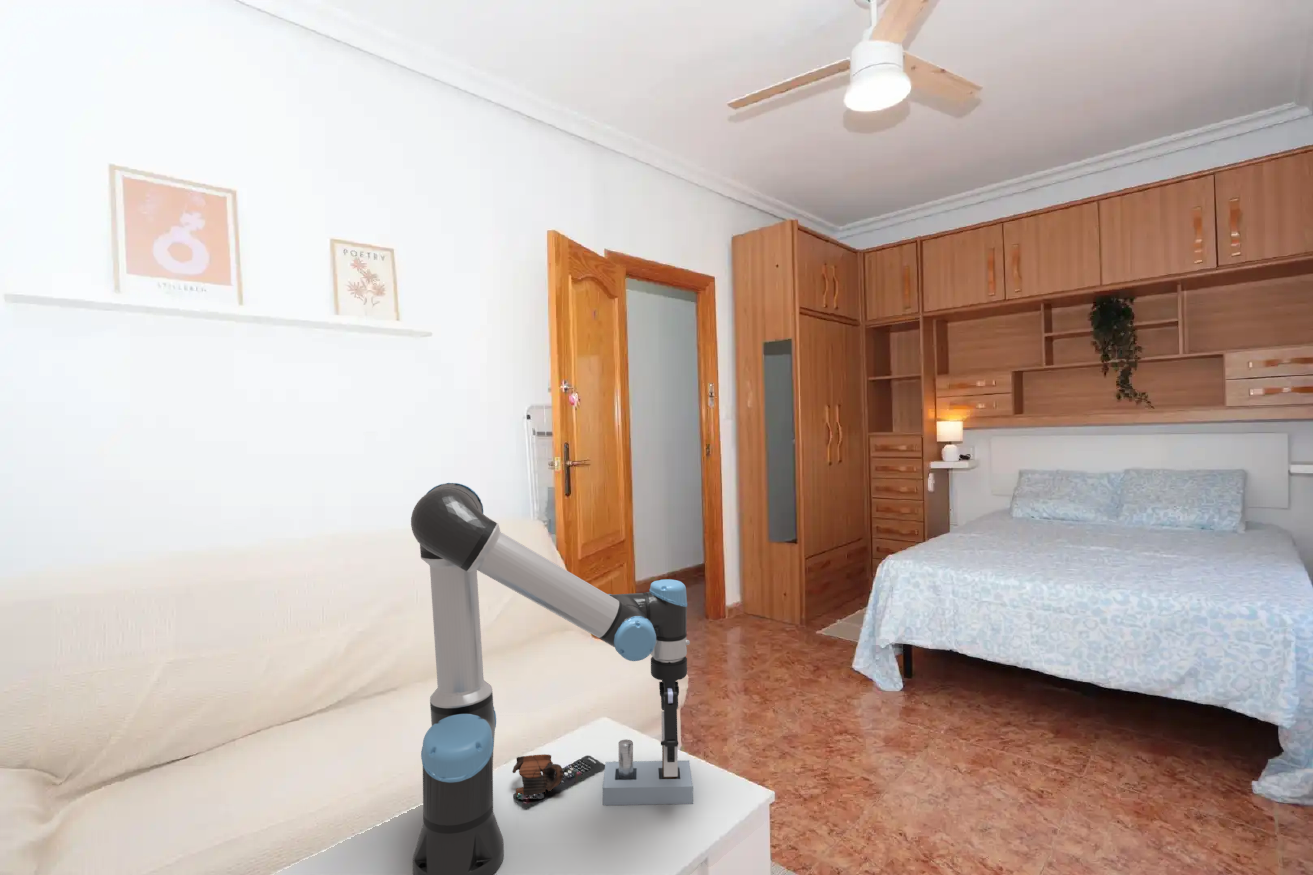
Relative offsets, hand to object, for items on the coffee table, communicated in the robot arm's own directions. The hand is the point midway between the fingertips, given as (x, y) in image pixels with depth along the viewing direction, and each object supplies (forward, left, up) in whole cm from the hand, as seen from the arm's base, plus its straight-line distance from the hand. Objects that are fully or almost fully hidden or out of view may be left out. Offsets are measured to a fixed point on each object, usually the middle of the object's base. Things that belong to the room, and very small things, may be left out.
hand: (669, 757), depth 135 cm
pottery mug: (-27, +1, -7) cm, 28 cm away
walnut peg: (0, 0, -7) cm, 7 cm away
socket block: (-4, 0, -7) cm, 8 cm away
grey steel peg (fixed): (-9, 0, -7) cm, 11 cm away
